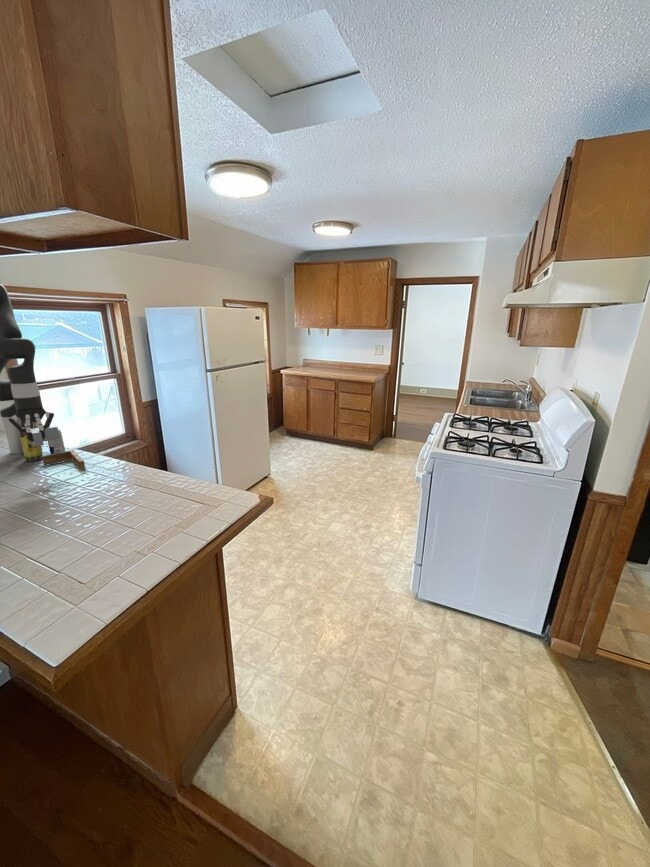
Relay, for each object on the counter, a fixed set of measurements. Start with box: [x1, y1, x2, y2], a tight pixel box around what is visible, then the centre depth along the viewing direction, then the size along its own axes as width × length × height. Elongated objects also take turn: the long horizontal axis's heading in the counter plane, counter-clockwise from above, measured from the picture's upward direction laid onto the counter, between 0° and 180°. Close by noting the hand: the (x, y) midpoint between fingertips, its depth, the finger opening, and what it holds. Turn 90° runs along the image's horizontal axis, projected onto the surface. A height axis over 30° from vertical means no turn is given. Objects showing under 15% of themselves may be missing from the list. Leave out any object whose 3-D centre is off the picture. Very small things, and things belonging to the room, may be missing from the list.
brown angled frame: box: [42, 449, 86, 472], centre depth 142 cm, size 18×11×4 cm, turn 46°
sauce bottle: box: [20, 419, 44, 462], centre depth 148 cm, size 6×6×20 cm
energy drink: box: [47, 428, 66, 454], centre depth 152 cm, size 5×5×12 cm
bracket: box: [30, 425, 60, 446], centre depth 132 cm, size 7×8×5 cm
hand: (37, 440), depth 129 cm, fingers closed on bracket, 2 cm apart
